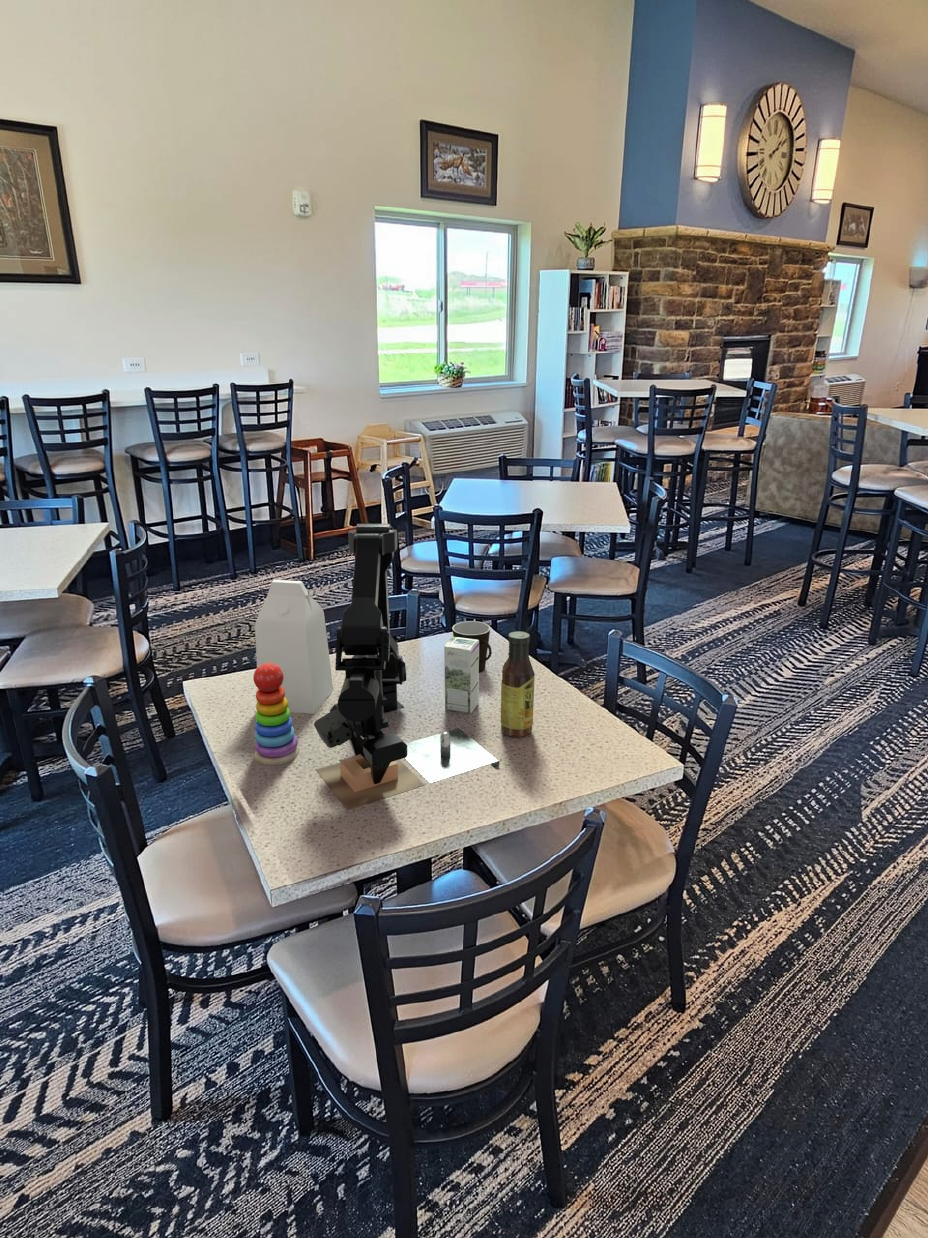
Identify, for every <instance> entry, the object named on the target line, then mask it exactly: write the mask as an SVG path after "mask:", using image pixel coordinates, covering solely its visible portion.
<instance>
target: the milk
mask: <svg viewBox="0 0 928 1238" xmlns="http://www.w3.org/2000/svg"><path fill="white" fill-rule="evenodd" d="M325 619H326V618H325V612H324V609H323V608H322V606H321V605H320V604H319V603H318V601H316V600H315V599H314V598H313V597H312V596H311V595H309V592H308V589H307V588H306V587H305V584H304V583H303V581H301V580H286V579H285V580H284V579H283V580H282V579H273V580H272V581H271V583H270V586H269V589H268V593H267V595H266V597H265V600H264V602H263V604H262V606H261V608H260V611H259V613H258V616H257V618H256V621H255V625H254V633H255V654H256V669H257V668H258V667H259V666H260V665H262V664H265V663H272V664H275V665H277V666H278V667H280V669H281V670H282V672H283V677H284V678H283V682H282V685H281V687H282V688H283V689H284V690H285V698H286V699H287V701H288V709H289V710H290V713H297V714H299V713H300V714H311V715H314V714H316V713H317V712H318V710H319V709H320V708H321V707H322V705H323V704H324V702H325V701H326V700H327V699H328V698H329V696H330V694H331V693H332V692H333V691H334V683H333V675H332V667H331V660H330V652H329V643H328V633H327V627H326V620H325ZM332 690H333V691H332Z"/></svg>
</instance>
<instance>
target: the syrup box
mask: <svg viewBox="0 0 928 1238" xmlns="http://www.w3.org/2000/svg"><path fill="white" fill-rule="evenodd" d="M443 651H444V655H443V656H444V710H445V711H450V712H457V713H462V714H469V715H470V714H472V713H473V711H474V710H475V709H476V708H477V706H478V704H479V702H480V697H479V689H480V688H479V687H480V685H479V677H480V675H479V674H480V673H479V640H475V639H468V638H460V637H453V636H452V637H451V638H450V639H449V640H448V641H447V642H446V644H445V645H444V648H443Z"/></svg>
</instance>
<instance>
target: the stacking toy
mask: <svg viewBox="0 0 928 1238" xmlns="http://www.w3.org/2000/svg"><path fill="white" fill-rule="evenodd" d="M283 678H284V677H283V672H282V670H281V669H280V667H278V666H277V665H275V664H272V663H265V664H262V665H260V666H259V667H258V668H257V667H256V669H255V671H254V673H253V683H254V685H255V687H256V688H257V690H256V692H255V699H256V701H257V702H256V704H255V708H256V712H255V715H254V716H255V718H254V719H255V720H256V721H255V723H254V729H255V732H254V739H255V745H254V747H255V751H254V755H253V756H254V759H255V761H257V762H258V763H259V764H263V765H267V766H268V765H269V766H271V765H272V766H275V765H281V764H285V763H288V762H291V761H293V760H294V759H295V758H297V757H298V756H299V754H300V751H301V749H300V746H299V745H298V744H299V739H298V737H297V736H296V734H295V729H294V727H293V719H292V717H291V712H290V710H289V709H288V701H287V699H286V698H285V690H284V689H283V688H282V687H281V685H282V682H283Z"/></svg>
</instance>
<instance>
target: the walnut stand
mask: <svg viewBox="0 0 928 1238" xmlns="http://www.w3.org/2000/svg"><path fill="white" fill-rule="evenodd" d="M396 762H397V763H398V779H396V780H393V781H389V782H386V783H383V784H380V785H377V786H374V787H370V788H367V789H364V790H361V791H358V792H354V791H353V790H352V789H351V787H350V786H349V785H348V784H347V783H346V781H345V780H344V779H343V778H342V776H341V772H340V762H337V763H335V764H331V765H327V766H324V767H323V766H322V767H320V768H318V769H315V771H316V772H317V774H318V775H319V776H320V777H321V779H322V780H323V781H324V783H326V785H327V787H328V788H329V789H330V790H331V792H332V793H333V795H334V796H335V797H336V798H337V799H338V801H339V802H340V803H341V804H342V806H343V808H344V809H345V810H346V811H350V810H353V809H357V808H360V807H363V806H366V805H368V804H372V803H374V802H378V801H381V800H384V799H387V798H390V797H394V796H396V795H400V794H402V793H403V794H404V793H405V792H408V791H412V790H415V789H418V788H421V787H424V786H425V783H424V782H422V781H421V780H420V779H419V778H418V777H417V775H415V773H413V772H412V770H411V769H409V768H408V766H407V765H405V763H403V761H402V760H401V759H400V760H396ZM369 767H370V765H369V762H367V761H366V760H365V759H363V768H364V769H366V768H369Z"/></svg>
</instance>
